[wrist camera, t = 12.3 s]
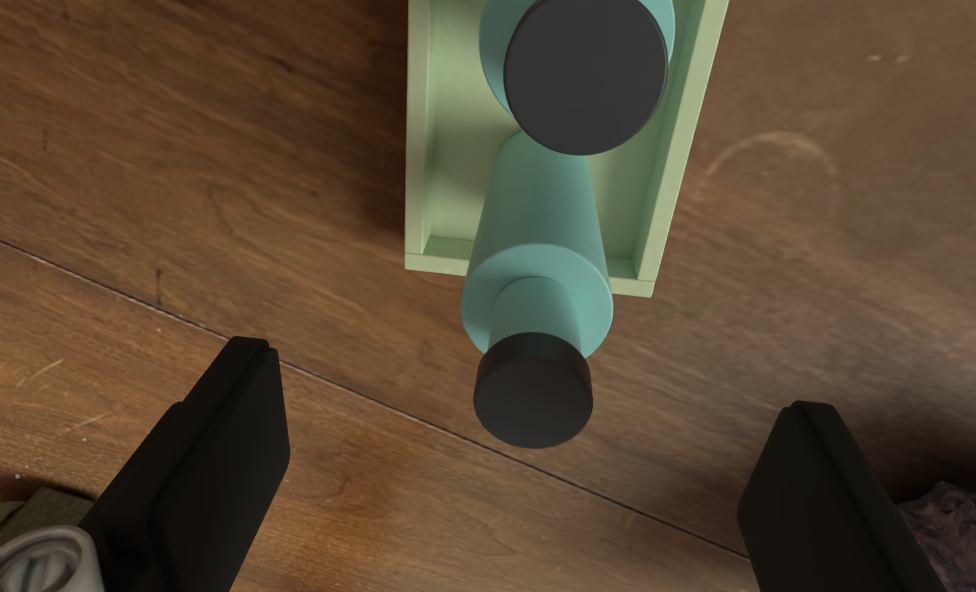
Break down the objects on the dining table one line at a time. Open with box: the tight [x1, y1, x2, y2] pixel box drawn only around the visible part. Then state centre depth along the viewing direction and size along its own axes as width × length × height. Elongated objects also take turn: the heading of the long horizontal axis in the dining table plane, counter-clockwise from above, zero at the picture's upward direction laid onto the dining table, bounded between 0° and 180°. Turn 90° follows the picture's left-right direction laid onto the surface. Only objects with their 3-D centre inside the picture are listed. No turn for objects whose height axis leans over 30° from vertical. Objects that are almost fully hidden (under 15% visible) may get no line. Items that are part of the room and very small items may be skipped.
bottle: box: [460, 130, 613, 449], centre depth 19 cm, size 4×4×15 cm
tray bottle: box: [479, 0, 675, 156], centre depth 15 cm, size 4×4×15 cm
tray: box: [404, 0, 729, 298], centre depth 21 cm, size 22×11×3 cm, turn 175°
